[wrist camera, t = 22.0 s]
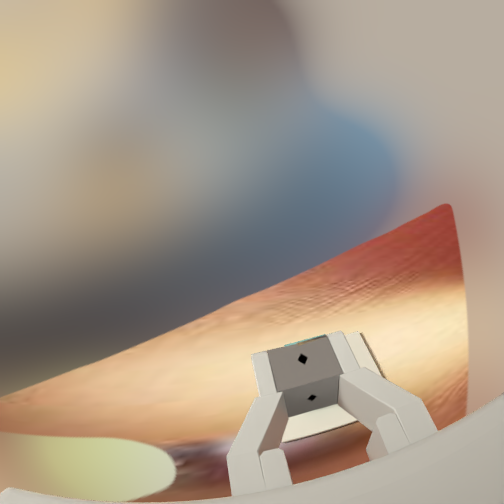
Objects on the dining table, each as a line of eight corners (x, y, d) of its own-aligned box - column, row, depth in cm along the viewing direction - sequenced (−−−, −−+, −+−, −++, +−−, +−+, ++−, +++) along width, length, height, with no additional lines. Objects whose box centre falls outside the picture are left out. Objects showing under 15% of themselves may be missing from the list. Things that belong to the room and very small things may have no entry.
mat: (282, 442, 34) (282, 441, 34) (262, 359, 46) (262, 357, 46) (395, 406, 35) (396, 405, 35) (357, 332, 46) (358, 331, 46)
